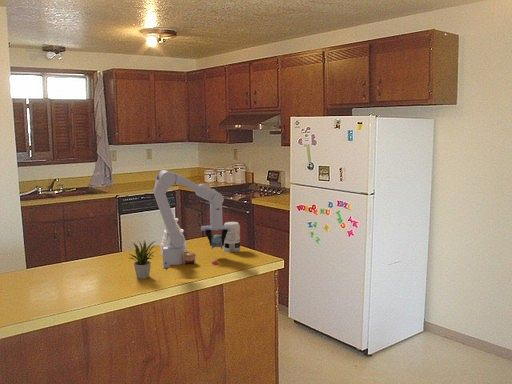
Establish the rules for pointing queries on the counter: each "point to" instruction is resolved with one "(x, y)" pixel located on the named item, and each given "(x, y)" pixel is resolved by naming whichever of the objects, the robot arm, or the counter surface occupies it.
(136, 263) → the house plant
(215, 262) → the red marble
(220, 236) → the slate-blue dome with prongs
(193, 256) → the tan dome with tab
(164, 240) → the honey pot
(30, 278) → the counter surface
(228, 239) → the supplement can
